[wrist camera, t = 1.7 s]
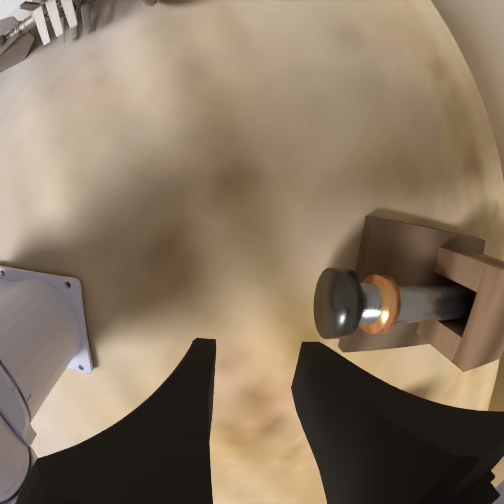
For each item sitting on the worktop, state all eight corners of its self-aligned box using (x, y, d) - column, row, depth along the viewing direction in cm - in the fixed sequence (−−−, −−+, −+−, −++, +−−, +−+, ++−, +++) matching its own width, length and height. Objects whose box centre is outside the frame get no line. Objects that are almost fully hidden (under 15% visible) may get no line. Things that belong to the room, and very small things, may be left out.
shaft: (309, 319, 18) (331, 352, 14) (320, 260, 17) (349, 280, 13) (438, 316, 19) (468, 336, 15) (451, 270, 18) (484, 285, 15)
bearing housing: (337, 345, 20) (383, 407, 13) (365, 216, 18) (439, 235, 11) (452, 334, 22) (499, 369, 15) (478, 238, 20) (536, 257, 13)
